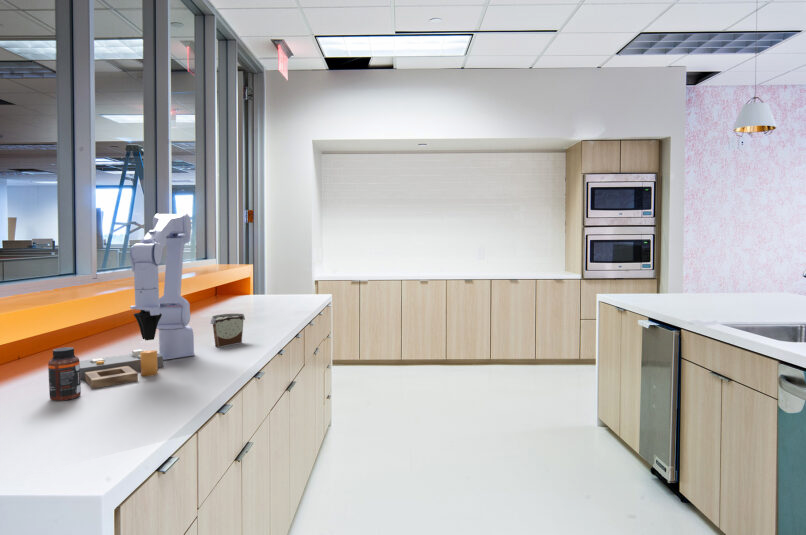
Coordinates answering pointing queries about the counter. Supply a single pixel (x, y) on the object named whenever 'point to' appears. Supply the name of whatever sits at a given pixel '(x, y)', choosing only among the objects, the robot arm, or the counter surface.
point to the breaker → (136, 352)
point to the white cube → (97, 360)
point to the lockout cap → (149, 363)
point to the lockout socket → (111, 376)
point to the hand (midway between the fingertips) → (148, 339)
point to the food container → (227, 329)
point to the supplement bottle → (64, 375)
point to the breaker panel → (115, 363)
